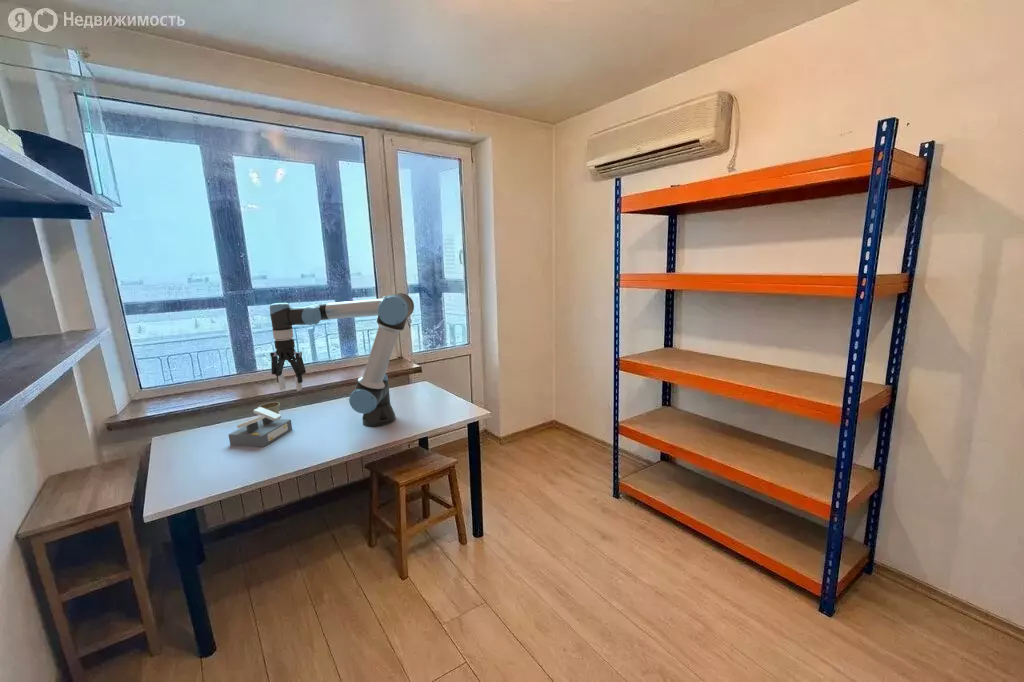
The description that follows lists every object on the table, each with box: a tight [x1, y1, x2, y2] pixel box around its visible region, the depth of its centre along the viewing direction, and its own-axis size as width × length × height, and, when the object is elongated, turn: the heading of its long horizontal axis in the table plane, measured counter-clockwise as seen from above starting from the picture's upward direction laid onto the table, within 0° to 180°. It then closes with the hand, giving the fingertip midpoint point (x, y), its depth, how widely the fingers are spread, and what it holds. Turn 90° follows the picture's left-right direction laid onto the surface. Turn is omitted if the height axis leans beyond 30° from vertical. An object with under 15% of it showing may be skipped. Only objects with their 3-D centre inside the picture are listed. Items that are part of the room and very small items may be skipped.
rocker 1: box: [236, 415, 265, 430], centre depth 177 cm, size 11×4×1 cm, turn 80°
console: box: [228, 418, 293, 448], centre depth 183 cm, size 16×18×8 cm
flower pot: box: [257, 401, 281, 414], centre depth 200 cm, size 9×9×9 cm
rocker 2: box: [252, 407, 282, 421], centre depth 186 cm, size 11×4×1 cm, turn 81°
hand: (291, 389), depth 181 cm, fingers open, 8 cm apart
